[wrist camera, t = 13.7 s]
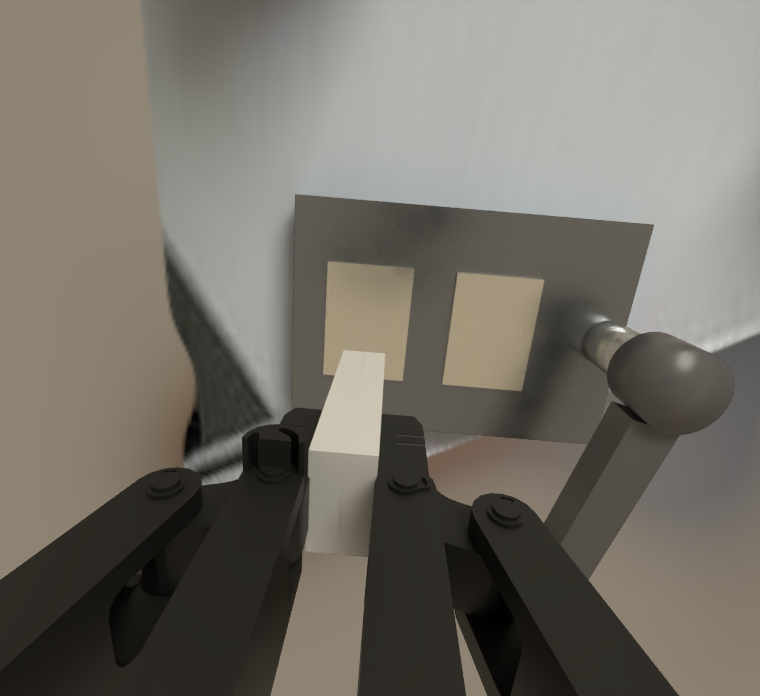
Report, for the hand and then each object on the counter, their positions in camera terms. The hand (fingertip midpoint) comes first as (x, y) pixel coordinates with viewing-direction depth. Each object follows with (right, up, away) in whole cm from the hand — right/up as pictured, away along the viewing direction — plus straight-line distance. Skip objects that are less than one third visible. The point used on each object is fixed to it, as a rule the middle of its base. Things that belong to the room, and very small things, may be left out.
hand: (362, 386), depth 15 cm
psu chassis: (+5, +3, +12) cm, 14 cm away
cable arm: (+12, -6, +11) cm, 17 cm away
